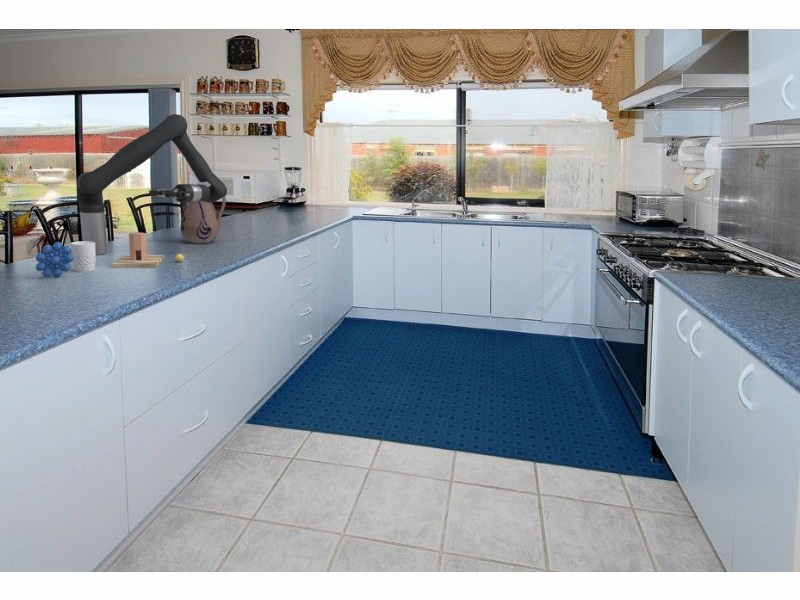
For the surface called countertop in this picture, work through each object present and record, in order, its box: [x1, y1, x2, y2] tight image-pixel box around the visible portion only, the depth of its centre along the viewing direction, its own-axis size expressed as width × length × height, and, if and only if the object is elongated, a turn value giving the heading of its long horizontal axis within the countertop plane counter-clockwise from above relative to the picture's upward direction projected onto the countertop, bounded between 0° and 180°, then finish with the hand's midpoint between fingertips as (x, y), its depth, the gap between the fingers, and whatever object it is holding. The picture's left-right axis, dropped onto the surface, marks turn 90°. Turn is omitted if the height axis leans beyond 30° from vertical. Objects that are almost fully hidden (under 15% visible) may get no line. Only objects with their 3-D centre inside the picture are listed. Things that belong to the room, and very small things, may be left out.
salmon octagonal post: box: [128, 232, 148, 261], centre depth 241 cm, size 6×6×10 cm
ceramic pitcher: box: [180, 196, 227, 244], centre depth 299 cm, size 18×21×25 cm
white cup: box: [70, 241, 97, 273], centre depth 224 cm, size 8×8×10 cm
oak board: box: [111, 254, 165, 269], centre depth 243 cm, size 20×15×2 cm
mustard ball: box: [174, 253, 185, 263], centre depth 248 cm, size 3×3×3 cm
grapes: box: [35, 241, 74, 278], centre depth 211 cm, size 12×7×12 cm, turn 125°
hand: (157, 194), depth 247 cm, fingers open, 8 cm apart
